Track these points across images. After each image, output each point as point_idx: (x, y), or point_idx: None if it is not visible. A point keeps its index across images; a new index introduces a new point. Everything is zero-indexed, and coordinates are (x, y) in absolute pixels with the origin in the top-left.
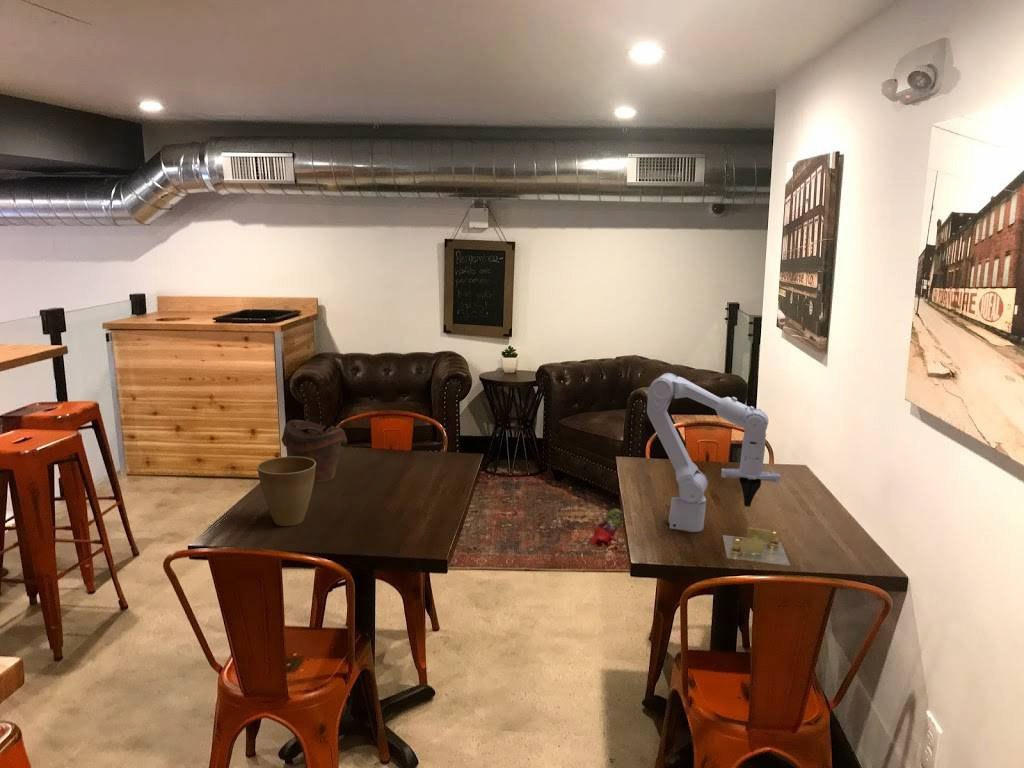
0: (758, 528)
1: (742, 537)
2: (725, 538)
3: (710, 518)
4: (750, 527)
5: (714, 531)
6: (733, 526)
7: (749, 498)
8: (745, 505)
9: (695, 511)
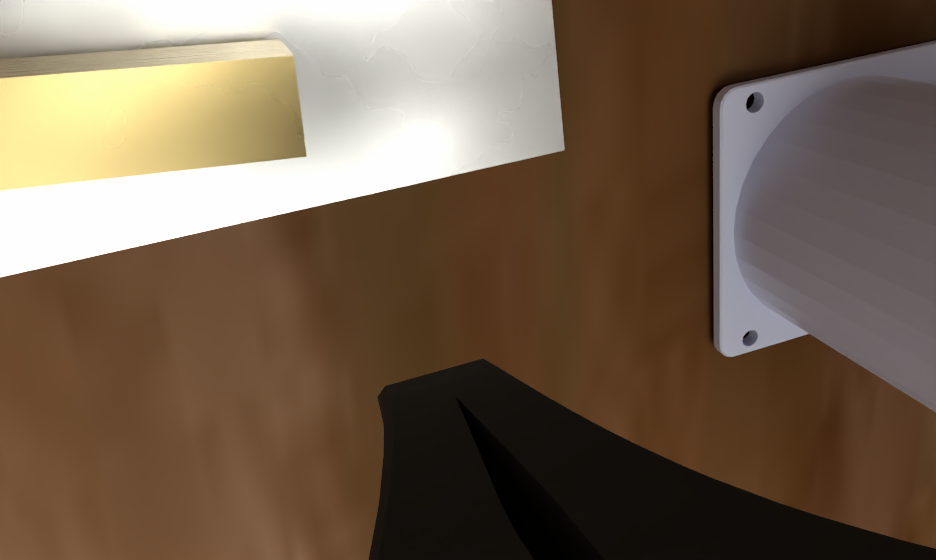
0: (142, 165)
1: (351, 194)
2: (532, 59)
3: None
4: (274, 146)
5: (620, 291)
6: None
7: (473, 466)
8: (484, 366)
9: None
